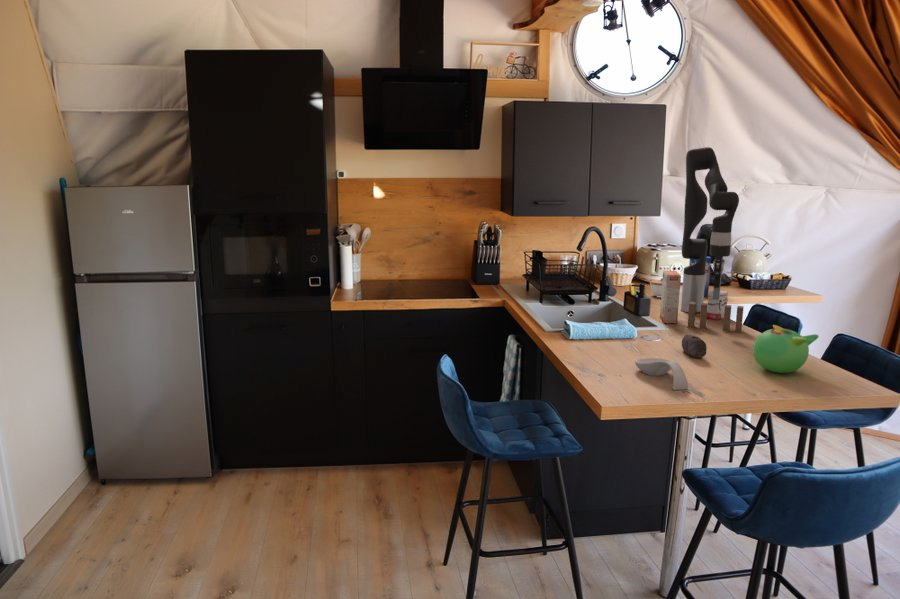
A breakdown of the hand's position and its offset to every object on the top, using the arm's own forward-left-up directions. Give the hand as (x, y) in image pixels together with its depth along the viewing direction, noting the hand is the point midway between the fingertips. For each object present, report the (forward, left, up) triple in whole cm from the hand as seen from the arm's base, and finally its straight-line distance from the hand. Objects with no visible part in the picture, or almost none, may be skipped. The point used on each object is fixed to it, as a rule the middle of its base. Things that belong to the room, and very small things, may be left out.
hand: (717, 286), depth 258 cm
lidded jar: (-50, -56, -19) cm, 77 cm away
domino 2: (-3, -6, -19) cm, 20 cm away
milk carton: (-68, -46, -19) cm, 84 cm away
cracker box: (-5, -23, -19) cm, 30 cm away
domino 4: (-7, +2, -19) cm, 20 cm away
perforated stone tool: (+36, +12, -19) cm, 43 cm away
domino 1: (-1, -10, -19) cm, 21 cm away
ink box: (-25, -12, -19) cm, 34 cm away
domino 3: (0, 0, -5) cm, 5 cm away
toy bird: (+32, +41, -19) cm, 55 cm away
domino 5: (-9, +6, -19) cm, 21 cm away
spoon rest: (+68, +21, -19) cm, 73 cm away
